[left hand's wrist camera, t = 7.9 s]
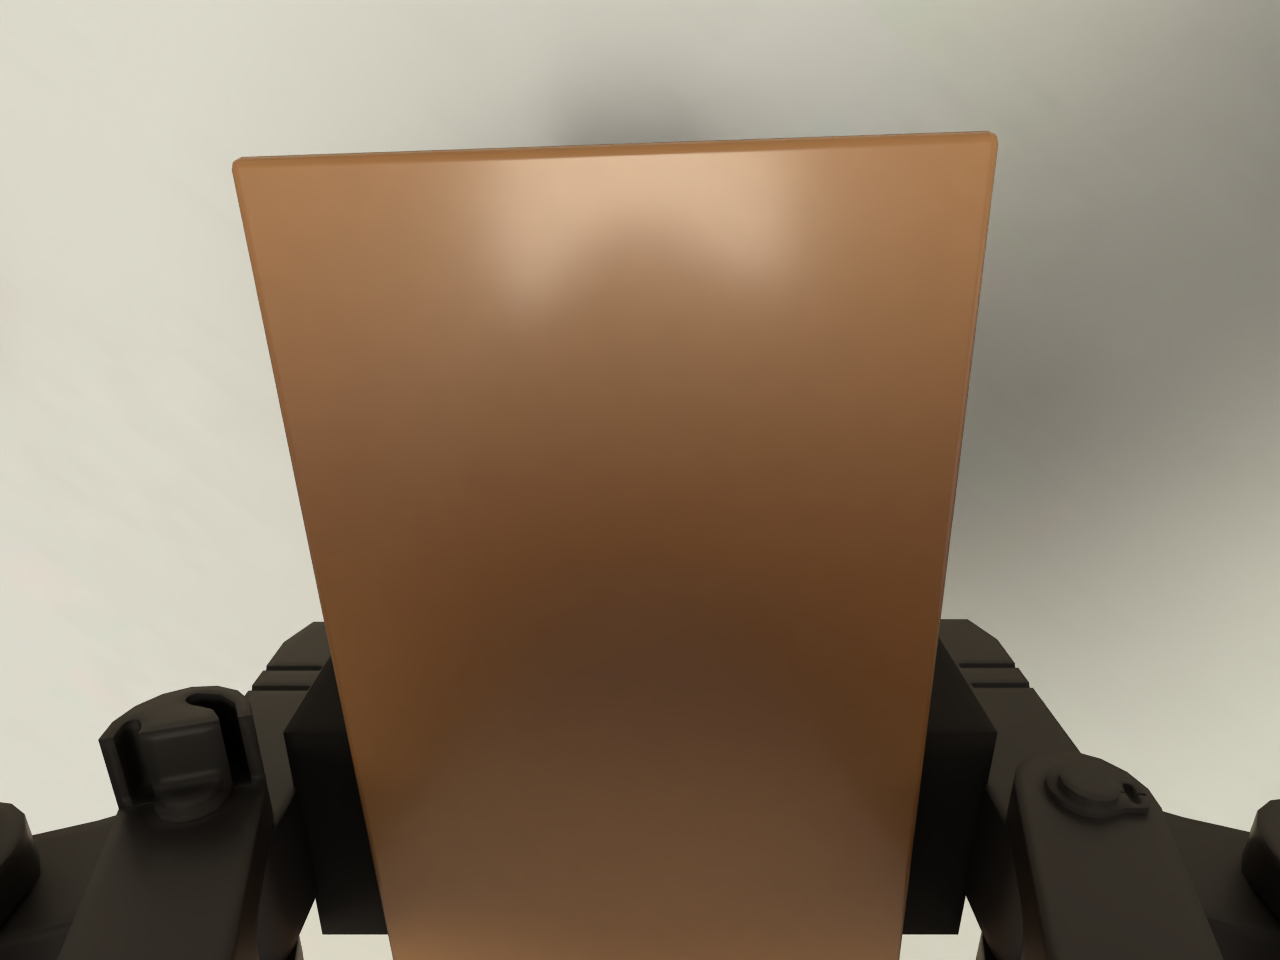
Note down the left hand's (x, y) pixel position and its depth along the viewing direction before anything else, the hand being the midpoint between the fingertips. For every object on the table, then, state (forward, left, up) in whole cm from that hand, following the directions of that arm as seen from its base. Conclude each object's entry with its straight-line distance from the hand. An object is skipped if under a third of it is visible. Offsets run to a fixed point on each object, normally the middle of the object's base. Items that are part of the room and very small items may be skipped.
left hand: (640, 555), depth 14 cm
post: (-3, +25, -1) cm, 26 cm away
